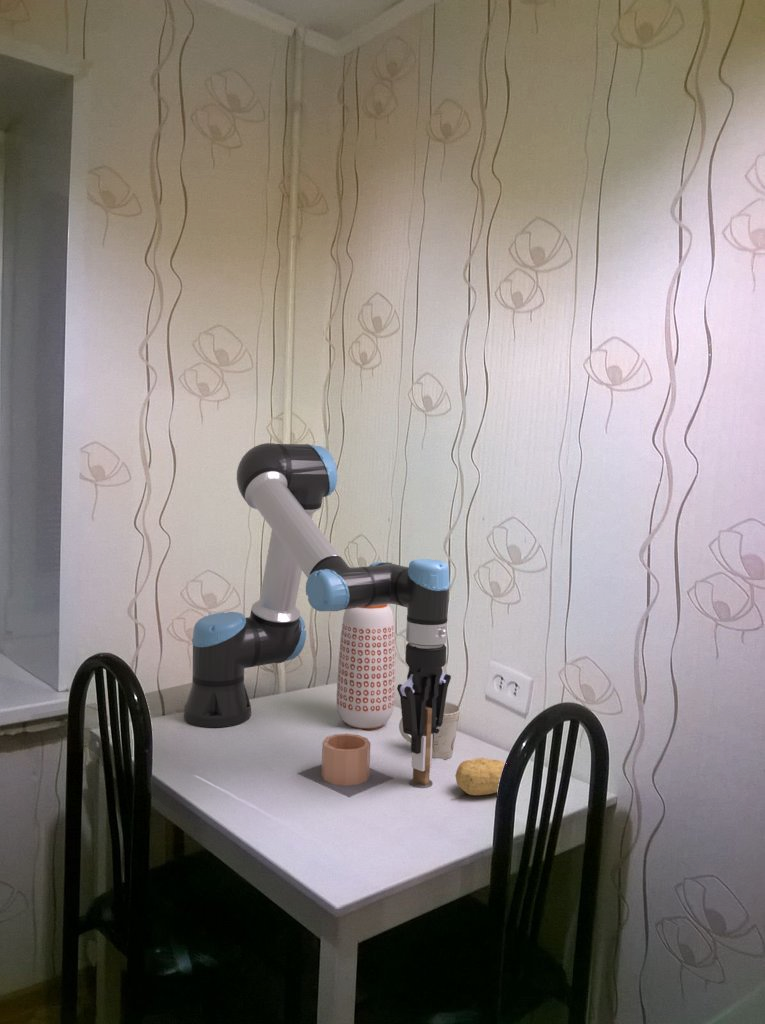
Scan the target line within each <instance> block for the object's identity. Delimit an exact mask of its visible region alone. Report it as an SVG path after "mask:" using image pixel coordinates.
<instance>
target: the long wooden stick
mask: <svg viewBox="0 0 765 1024" xmlns="http://www.w3.org/2000/svg"><path fill="white" fill-rule="evenodd" d="M431 724H432V708H430V707H427V706H426V708H425V721H424V734H423V735H424V736H426V758H425V771H423V772H422V771H420V770H417V769H415V768H412V778H411V779H409V781H408V783H409V785H410V786H411V787H413V788H416V789H428V788H430V787H432V786H433V781H432V780H431V779H430V769H431V768H430V749H431Z"/></svg>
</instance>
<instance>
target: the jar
mask: <svg viewBox="0 0 765 1024" xmlns="http://www.w3.org/2000/svg"><path fill="white" fill-rule="evenodd" d="M321 744H322V749H321V751H322V752H321V764H322V777H323V779H324V780H325V781H327V782H329V783H332V784H336V785H343V786H348V785H358V784H360V783H363V782H365V781H367V779H368V777H369V775H370V768H371V767H370V766H371V746H372V745H371V741H370V740H369V738H367V737H365V736H362V735H359V734H353V733H340V734H339V733H338V734H337V733H336V734H333V735H330V736H329V735H328V736H327V737H325V738H324V739H323V741H322V743H321Z"/></svg>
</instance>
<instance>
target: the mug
mask: <svg viewBox="0 0 765 1024" xmlns="http://www.w3.org/2000/svg"><path fill="white" fill-rule="evenodd" d="M460 713H461V708H460V706H458V705H457V704H456V703H453V702H448V701H445V708H444V715H443V721H442V725H441V727H437V728H436V729H439V732H438V733H437V734H436V733H434V743H433V748H432V759H439V760H440V759H442V760H448V759H451V758H453V757H452V756H453V753H454V748H455V743H456V742H455V741H456V736H457V730H458V724H459V719H460ZM436 719H437V718H436ZM398 728H399V732H400V735H401V737H402V738H404V739H405V740H406V741H407V742H409V743H410V744H411V737H410V736H409V734H406V733H404V732H403V722H402V717H401V719H400V721H399V724H398Z"/></svg>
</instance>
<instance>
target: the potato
mask: <svg viewBox="0 0 765 1024" xmlns="http://www.w3.org/2000/svg"><path fill="white" fill-rule="evenodd" d="M504 763H506V762H505V761H503V760H499V759H492V758H485V757H479V758H473V759H467V760H466V759H465V760H463V761H462V762H461V763H459V765H458V767H457V768H456V771H455V772H456V773H455V780H456V784H457V786H459V787H460V788H461V790H462V791H463V792H465V793H466V794H468V795H470V796H484V795H492V794H495V793H498V792H497V789H498V784H499V779H500V776H501V773H502V769H503V766H504Z"/></svg>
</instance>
